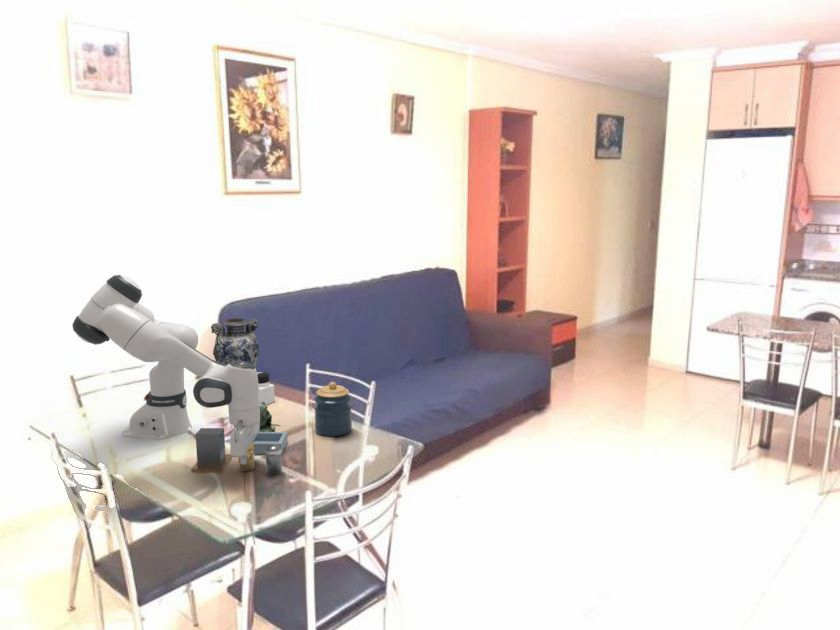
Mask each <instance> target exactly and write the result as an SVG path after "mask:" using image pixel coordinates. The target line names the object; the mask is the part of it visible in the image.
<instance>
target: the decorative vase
mask: <svg viewBox="0 0 840 630" xmlns="http://www.w3.org/2000/svg"><path fill="white" fill-rule="evenodd" d="M258 324H259V321H258V320H257V319H255V318H253V319H250V320H249V321H246V320H245V319H243V318H229V319H228V318H227V319H226V320H225V322H224V323H223V325H222V324H221V323H219V322H214V323H213V324H211V326H210V329H211V334H215V342H214V345H213V349H212V355H213V357H214V359H215V360H214V361H217V362H220V363H224V364H229V363H230V362H233V361H245V362H249V363H251V364H252V365H254V367H255V368H256V365H257V362H258V359H259V353H260V352H259V348H260V347H259V346H260V345H259V343H258V341H257V336H256V332H255V331H256V329H258V328H259V326H258ZM224 326H225V327H226V328H227V329H225V327H224Z"/></svg>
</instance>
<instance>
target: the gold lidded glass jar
mask: <svg viewBox="0 0 840 630" xmlns="http://www.w3.org/2000/svg"><path fill="white" fill-rule="evenodd" d="M246 456H247V460H248V461H247V463H246V464H241V463H240V458H239V457H238V465H239V466H238V468H239V470H240V471H242V472H248V471H251V470H254V469H255V454H254V442H252V443H251V445H250V447H249V449H248V450H247V453H246Z"/></svg>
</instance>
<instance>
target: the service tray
mask: <svg viewBox="0 0 840 630" xmlns="http://www.w3.org/2000/svg"><path fill="white" fill-rule="evenodd" d="M288 441H289V440H288V432H287V431H274V432H259V433H258V434H257V436H256V438H255V439H254V441H253V442H254V455H266V446H267V445H269V444H280V445H281V455H283V452H284V450H285V448H286V445H287V444H288Z"/></svg>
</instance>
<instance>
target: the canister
mask: <svg viewBox="0 0 840 630" xmlns="http://www.w3.org/2000/svg"><path fill="white" fill-rule="evenodd" d="M315 393H316V396H314V398H313V400H314V402H315V405H314V407H313V409H314V430H315V433H317V434H318V435H320V436H324V437H338V436H343V435H346V434H349V433H350V432H351V430H352V426H353V423H352V404H351V400H352V396H351V395H350V394H349V393H350V390H349V389H348V388H346V387H345V386H344V385H339V384H337V383H336V382H335V381H331V382H329V383H328V385H324V386H322V387H320V388H319V389H317V390H316V392H315Z"/></svg>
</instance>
